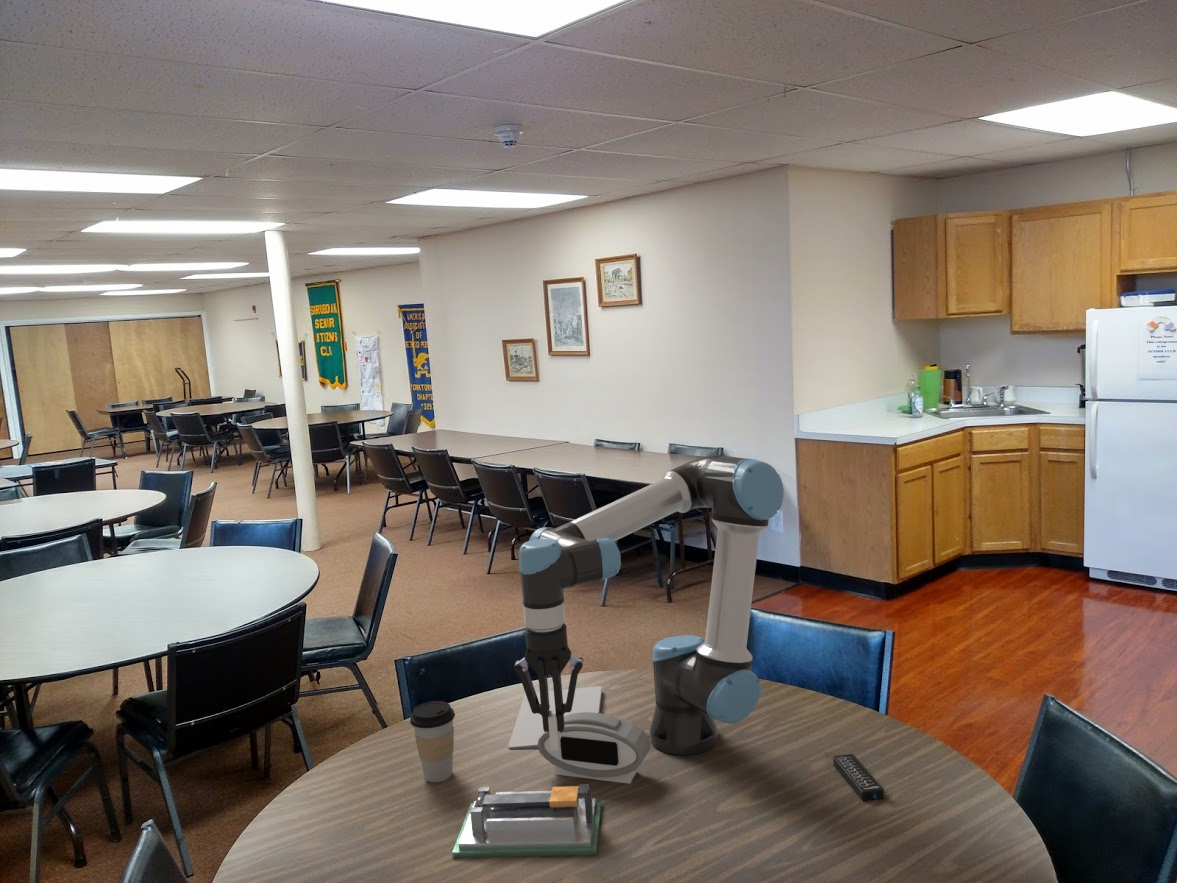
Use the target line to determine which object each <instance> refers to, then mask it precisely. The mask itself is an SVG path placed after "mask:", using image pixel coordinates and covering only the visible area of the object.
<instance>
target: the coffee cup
mask: <svg viewBox="0 0 1177 883" xmlns="http://www.w3.org/2000/svg"><path fill="white" fill-rule="evenodd" d="M455 716H456V713H455V710H454V709H453V707H451V705H450V704H449V703H448V702H446V701H443V700H442V701H441V700H434V701H433V700H432V701H427V702H425V703H421V704H418V705H417V706H416V707H415V708H414V709H413V711H412V714H411V715H410V719H409V723H410V724H411V726H412V727H413V729H414V738H415V743H416V748H417V751H418V757H419V759H420V762H421V766H422V772H423V777H424V779H425V780H426V781H427V782H430V783H441V782H444V781H446V780H448V779H449V778H450V777H451V776H452V775H453V764H454V763H453V759H454V754H453V753H454V742H455V741H454V739H455V738H454V735H455V733H454V732H455V731H454V730H455V729H454V724H453V723H454V719H455Z"/></svg>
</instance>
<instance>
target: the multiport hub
mask: <svg viewBox="0 0 1177 883" xmlns="http://www.w3.org/2000/svg"><path fill="white" fill-rule="evenodd" d="M832 760H833V767H834V768H835V769H836V770H837V771H838V772H839V774H840V775H841V777H842V778H843V779H844V781H846V783H847V784H848V785H849V787H850V788H851V790H853V792H854V793H855V794H856V796H857V797H858V798H859V799H860V801H862V802H866V803H867V802H873V801H881V800H884V799H885V788H884V787H883V786H882V785H881V784H880V783H879V782H878V781H877V779H876V778H875V777H874V775H872V773H870V771H869V770H868V769H867V768H866V767H865V766H864V764H863V763H862V762H861V761H860V760H859V759H858V757H857V756H856V755H855V754H854V753H846V754H839V755H838V754H837V755H834V756H832Z"/></svg>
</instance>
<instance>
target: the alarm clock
mask: <svg viewBox="0 0 1177 883" xmlns="http://www.w3.org/2000/svg"><path fill="white" fill-rule="evenodd" d="M564 724H565V726H564V730H563V731H559V733H560V747H559V750H557V751H551V747H550V735H549V732H544V733H543V735H542V736H541V737H540V738H539V740H538V745H537V746H538V748H537V749H538V752H539V753H540V755H541V756H542V757H543V758H544V759H545V760H546V761H548V762H549V763H550V764H552V765H553V766H555V769H554V775H558V776H566V777H573V778H575V777H576V778H582V779H590V780H599V781H607V782H613V783H623V784H631V783H632V781H633V779H634V778H635V776H636V775H637V769H638V768H639V767H640V766H641V764H643V762H644V760H645V758H646V756H647V754H648V753H649V751H650V749H651V745H652V743H651V741H650V736H648V735H647V734H646V732H645V731H644V730H643V729H641V728H640V727H639V726H637V725H636V724H635V723H632V722H630V721H627V720H625V719H624V718H619V717H616V716H613V715H609V714H605V713H601V712H600V713H594V712H582V713H574V714H570V715H567V716H564Z"/></svg>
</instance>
